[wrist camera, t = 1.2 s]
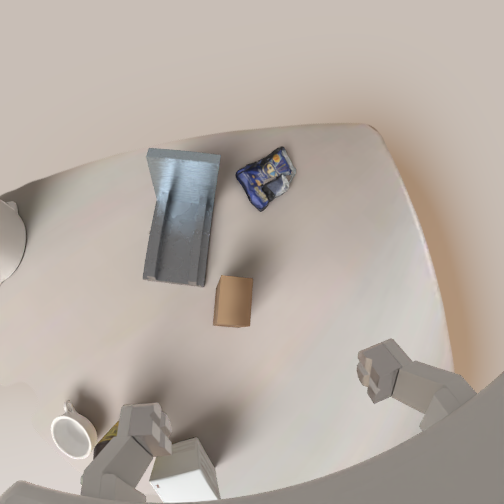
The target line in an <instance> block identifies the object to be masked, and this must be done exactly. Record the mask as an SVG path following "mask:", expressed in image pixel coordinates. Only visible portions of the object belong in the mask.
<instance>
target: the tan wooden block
mask: <svg viewBox="0 0 504 504" xmlns="http://www.w3.org/2000/svg"><path fill="white" fill-rule="evenodd" d="M252 288H253V279H252V278H242V277H233V276H223V275H221V278H220V280H219V283H218V285H217V288H216V296H215V307H214V319H213V325H214V326H225V327H237V328H239V327H248V326H250V318H251V303H252Z"/></svg>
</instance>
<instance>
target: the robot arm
mask: <svg viewBox="0 0 504 504" xmlns="http://www.w3.org/2000/svg"><path fill="white" fill-rule="evenodd" d="M25 243H26V231H25V226H24V223H23V221H22V219H21V218H20V216H19V214H18V209H17V204H16V203H15V202H13V201H10V202H3V201H2V200H0V284H1V283H2V282H3V281H4V280H5V279H7V278H8V277H10V276H11V275H12V274H13V273H14V271H15V270H16V268H17V267H18V265H19V263H20V261H21V259H22V256H23V253H24V249H25ZM358 359H359V361H360V362H359V363H358V365H357V374H358V378H359V380H360V382H361V384H362V385H363V386H366V387H368V390H367V393H368V395H369V397H370V398H371V400H372V401H373V403H374V404H375V403H377V402H379V401H382V400H384V399H386V398H389V397H391V396H392V398H394V399H396V400H398V401H400V402H402V403H404V404H406V405H408V406H410V407H412V408H414V409H416V410H418V411H420V412H422V413H424V414H425V415H424V417H423V419H422V421H421V423H420V426H419V427H420V428H421V430H422V432H421V433H419V434H417V435H415V436H414V437H412V438H410V439H408V440H407V441H405V442H403V443H401V444H399V445H397V446H395V447H393V448H391V449H389V450H387V451H385V452H383V453H381V454H379V455H377V456H374V457H372V458H370V459H368V460H365V461H363V462H361V463H358V464H356V465H353V466H351V467H348V468H346V469H343V470H341V471H338V472H335V473H332V474H329V475H327V476H324V477H321V478H317V479H314V480H311V481H308V482H304V483H301V484H297V485H294V486H290V487H286V488H282V489H278V490H273V491H269V492H264V493H259V494H254V495H248V496H242V497H236V498H229V499H221V500H211V501H200V502H182V503H146V496H145V495H144V494H142V493H141V492H139V491H138V490H136V489H135V487H136V486H137V484H138V482H139V481H140V479H141V477H142V476H143V474H144V472H145V471H146V469H147V467H148V466H149V464H150V462H151V461H152V459H153V457H157V456H169V455H172V442H171V441H170V440H169V439H168V438H169V436H170V435H171V434H172V427H171V423H170V420H169V417H168V416H167V414H166V413H164V412H162V411H161V406H160V405H159V403H146V404H132V405H123V407H122V408H121V413H120V419H119V425H118V431H117V437H113V438H112V439H111V440H110V442H109V443H108V444H107V445H106V446H105V447H104V449H103V450H102V451H101V452H100V453H99V454H98V455H97V457H96V458H95V459H94V460H93V461H92V462H91V463H90V465H89V466H88V467H87V468H86V469H85V470H84V475H83V481H82V488H81V495H76V494H71V493H66V492H62V491H58V490H53V489H50V488H46V487H42V486H39V485H35V484H32V483H29V482H26V481H17V482H16V483H14V484H13V485H12V486H11V487H10V488H8V489H7V490H6V491H5V492H4V493H3V494H2V495H1V496H0V504H504V372H502V374H500V375H499V376H498V377H497V378H496V379H495V380H494V381H492V382H491V383H490V384H489V385H488V386H486V387H485V388H484V389H483V390H482V391H480V392H479V393H478V394H477V393H476V392H475V391H474V390H473V388H472V387H471V386H470V385H469V384H468V383H467V382H466V381H465V379H464V378H463V377H462V376H461V375H458V374H455V373H452V372H449V371H446V370H443V369H439V368H436V367H433V366H430V365H427V364H424V363H421V362H418V361H414V362H412V360H411V359H410V358H409V357H408V356H407V355H406V353H405V352H404V351H403V350H402V349H401V348H400V346H399V345H398V344H397V343H396V342H395V341H394V340H393V339H388V340H386V341H384V342H381V343H378V344H376V345H374V346H371V347H369V348H366V349H364V350H361V351H359V353H358Z"/></svg>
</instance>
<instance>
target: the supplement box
mask: <svg viewBox="0 0 504 504" xmlns="http://www.w3.org/2000/svg"><path fill="white" fill-rule="evenodd" d="M149 482H150V484H151V485H152V487H153V488H154V490H155V491H156V492H157V494H158V495H159V497H160V498H161V500H162V501H163V502H164V503H182V502H200V501H211V500H221V498H220V493H219V488H218V483H217V477H216V471H215V468H214V466H213V464H212V463H211V461H210V459H209V457H208V456H207V454H206V452H205V450H204V448H203V446H202V445H201V443H200V441H199V439H198V437H195V438H192V439H188V440H185V441H182V442H178V443H175V444H172V455H169V456H157V457H156V460H155V463H154V466H153V470H152V473H151V476H150V480H149Z"/></svg>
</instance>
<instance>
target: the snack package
mask: <svg viewBox="0 0 504 504" xmlns="http://www.w3.org/2000/svg"><path fill="white" fill-rule="evenodd" d="M291 171H293V174H291ZM295 173H296V168H294V167H293V165H292V162H291V160H290V158H289V157H288V155H287V154H286V150H285V149H284V147H279V148H277V149H276V150H274V151H273V152H272V153H271V154H269V155H268V156H267V157H265V158H263V159H261V160H260V161H258V162H254V163H251V164H248V165H246V166H245V167H243V168H241V169H240V170H238V171H237V172H236V178H237V180H238V181H239V183H240V184H241V185H242V187H243V188H244V190H245V192H246V194H247V196H248V194H249V195H250V197H249V196H248V199H249V201H252V202H251V203H252V204H253V205H254V206H255V207H256V208H257V209H258V210H259V211H260V212H261V211H263V210H264V209H265V208H266V207H267V206H268V203H269V202H271V201H272V200H273V199H274V198H276V197H278V196H280V195H282V194H283V193H285V192H286V191H287V190H288V189H289V184H290V182H291V181H292V179H293V177H294V176H295ZM286 175H291V179H290V181H288V180H287V178H286ZM275 176H276V178H275V179H273V180H272V181H270V182H268V183H266V184H265V185H263V184H262V183H263V182H264V181H265V180H266V179H268V178H271V177H275ZM261 184H262V185H261ZM250 198H251V200H250Z"/></svg>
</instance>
